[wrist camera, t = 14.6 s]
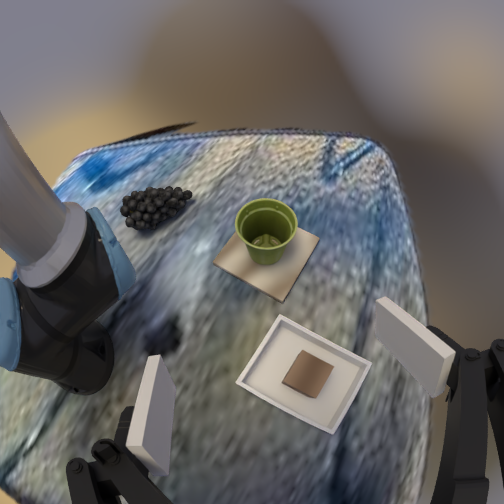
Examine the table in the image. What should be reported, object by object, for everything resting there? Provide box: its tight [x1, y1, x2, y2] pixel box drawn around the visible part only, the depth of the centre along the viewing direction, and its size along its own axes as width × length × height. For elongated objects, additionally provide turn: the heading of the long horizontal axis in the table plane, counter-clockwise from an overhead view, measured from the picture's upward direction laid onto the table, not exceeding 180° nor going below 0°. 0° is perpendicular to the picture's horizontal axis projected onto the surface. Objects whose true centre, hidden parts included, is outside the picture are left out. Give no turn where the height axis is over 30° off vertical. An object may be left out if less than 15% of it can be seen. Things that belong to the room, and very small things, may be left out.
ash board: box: [213, 227, 320, 303], centre depth 50 cm, size 14×14×1 cm
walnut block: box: [281, 350, 334, 399], centre depth 36 cm, size 5×5×6 cm
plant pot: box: [235, 198, 298, 265], centre depth 46 cm, size 9×9×9 cm
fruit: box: [120, 186, 192, 230], centre depth 52 cm, size 9×8×15 cm
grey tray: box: [235, 314, 372, 435], centre depth 38 cm, size 16×12×4 cm
